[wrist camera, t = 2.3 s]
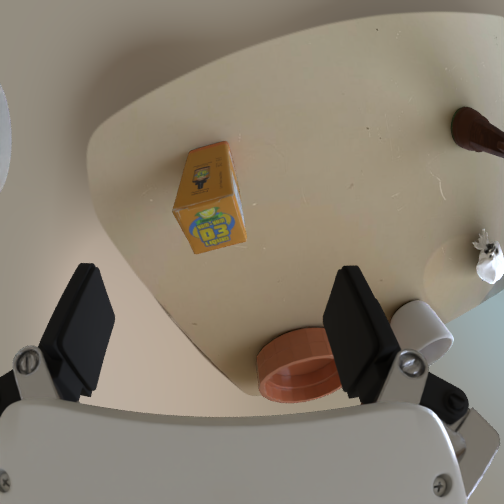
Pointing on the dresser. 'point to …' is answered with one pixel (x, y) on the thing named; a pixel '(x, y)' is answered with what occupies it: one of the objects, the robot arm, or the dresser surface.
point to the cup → (421, 331)
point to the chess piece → (476, 132)
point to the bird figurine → (489, 259)
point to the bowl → (297, 367)
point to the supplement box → (210, 200)
